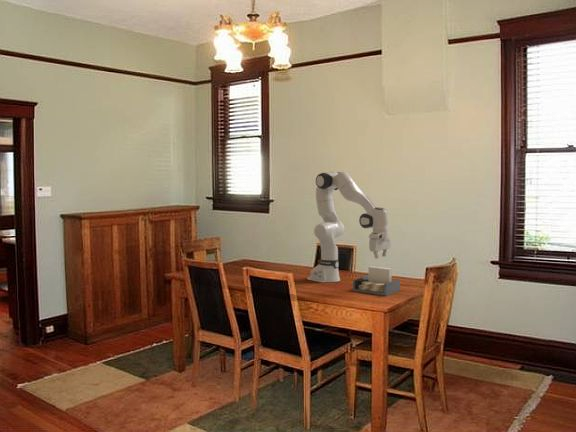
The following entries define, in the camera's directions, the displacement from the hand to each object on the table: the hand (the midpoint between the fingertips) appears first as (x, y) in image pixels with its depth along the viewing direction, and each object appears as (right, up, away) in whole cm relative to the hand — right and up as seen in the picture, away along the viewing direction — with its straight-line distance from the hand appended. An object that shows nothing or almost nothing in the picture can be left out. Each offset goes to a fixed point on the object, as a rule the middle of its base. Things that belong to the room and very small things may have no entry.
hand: (380, 257), depth 326 cm
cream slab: (0, -18, +2) cm, 18 cm away
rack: (-3, -20, -1) cm, 20 cm away
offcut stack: (-5, -19, -5) cm, 20 cm away
